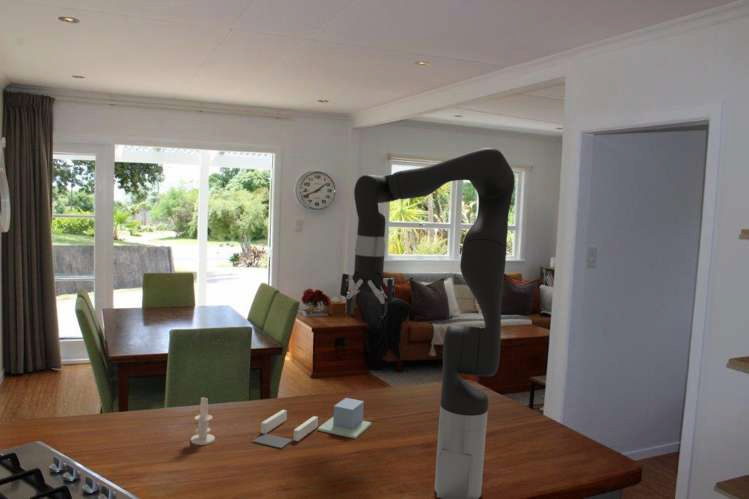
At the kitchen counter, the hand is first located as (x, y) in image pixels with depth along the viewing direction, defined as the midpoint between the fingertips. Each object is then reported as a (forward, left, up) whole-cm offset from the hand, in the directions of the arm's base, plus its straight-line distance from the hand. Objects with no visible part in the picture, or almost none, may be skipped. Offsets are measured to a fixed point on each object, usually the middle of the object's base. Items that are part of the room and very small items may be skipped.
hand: (366, 315), depth 158 cm
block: (-9, -1, -26) cm, 27 cm away
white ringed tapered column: (-34, +25, -27) cm, 50 cm away
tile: (-11, 0, -26) cm, 28 cm away
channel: (-21, +11, -26) cm, 36 cm away
